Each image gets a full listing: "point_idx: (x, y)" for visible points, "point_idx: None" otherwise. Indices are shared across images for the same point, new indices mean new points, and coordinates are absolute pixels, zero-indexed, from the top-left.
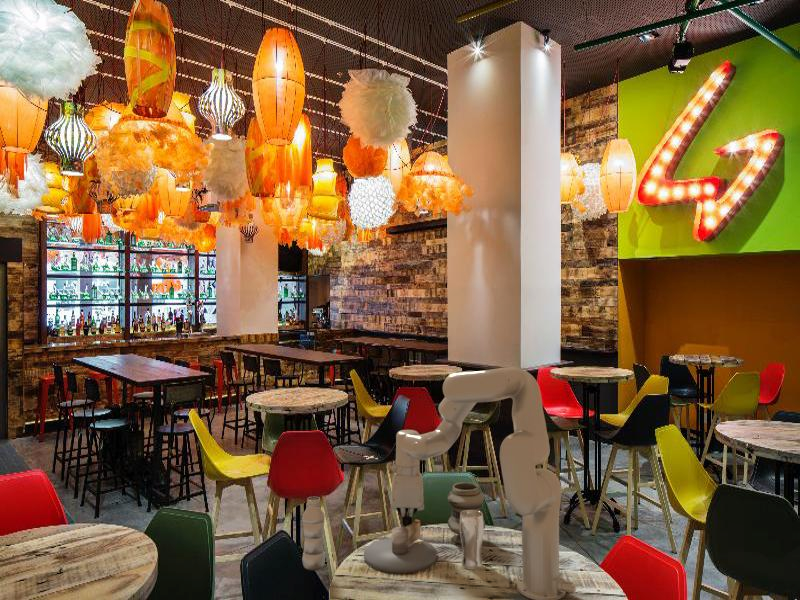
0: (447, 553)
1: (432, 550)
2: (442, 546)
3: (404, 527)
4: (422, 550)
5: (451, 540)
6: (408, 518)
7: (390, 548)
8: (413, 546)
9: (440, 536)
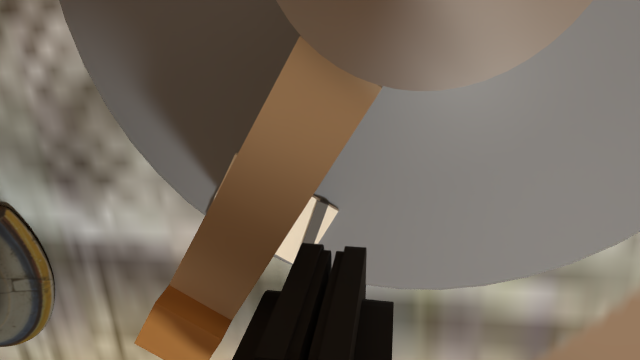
0: (22, 63)
1: (96, 12)
2: (88, 191)
3: (344, 61)
4: (185, 3)
5: (41, 266)
6: (277, 340)
7: None
8: None
9: None
